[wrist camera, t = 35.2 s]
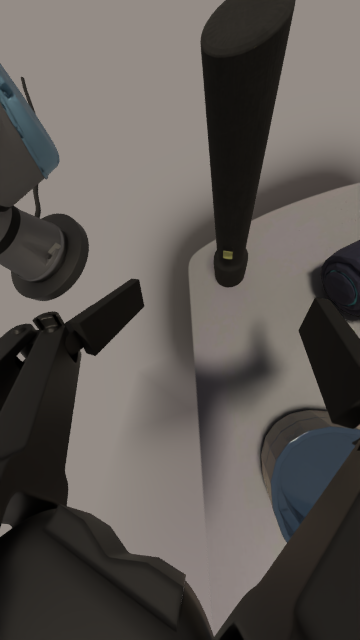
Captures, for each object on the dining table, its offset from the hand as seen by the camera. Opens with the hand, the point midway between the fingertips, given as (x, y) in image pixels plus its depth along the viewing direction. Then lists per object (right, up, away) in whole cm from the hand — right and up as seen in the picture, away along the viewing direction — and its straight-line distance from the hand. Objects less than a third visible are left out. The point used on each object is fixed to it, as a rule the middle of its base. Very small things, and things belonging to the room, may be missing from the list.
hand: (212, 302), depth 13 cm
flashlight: (+6, +7, +17) cm, 19 cm away
